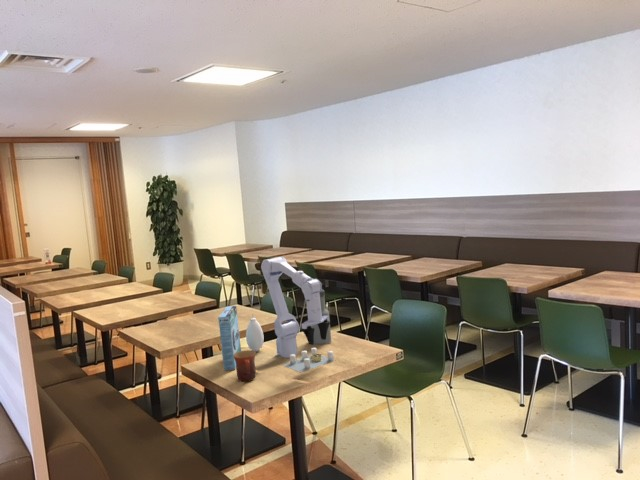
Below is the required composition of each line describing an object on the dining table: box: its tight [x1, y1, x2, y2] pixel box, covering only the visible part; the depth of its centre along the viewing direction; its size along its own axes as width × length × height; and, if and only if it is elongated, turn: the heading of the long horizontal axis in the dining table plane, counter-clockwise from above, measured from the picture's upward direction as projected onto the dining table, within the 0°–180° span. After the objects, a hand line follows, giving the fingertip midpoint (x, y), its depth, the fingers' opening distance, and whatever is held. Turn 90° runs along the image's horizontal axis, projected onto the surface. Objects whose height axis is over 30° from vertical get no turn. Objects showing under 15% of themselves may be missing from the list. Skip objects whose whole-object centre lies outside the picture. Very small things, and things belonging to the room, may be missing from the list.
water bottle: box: [311, 282, 332, 345], centre depth 242 cm, size 10×10×28 cm
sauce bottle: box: [245, 312, 265, 352], centre depth 238 cm, size 8×8×18 cm
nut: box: [310, 353, 323, 362], centre depth 217 cm, size 5×4×2 cm
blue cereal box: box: [218, 305, 242, 371], centre depth 224 cm, size 19×5×23 cm, turn 0°
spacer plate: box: [282, 347, 336, 373], centre depth 215 cm, size 13×18×4 cm
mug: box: [233, 349, 257, 383], centre depth 202 cm, size 12×9×10 cm
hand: (317, 341), depth 211 cm, fingers open, 7 cm apart
